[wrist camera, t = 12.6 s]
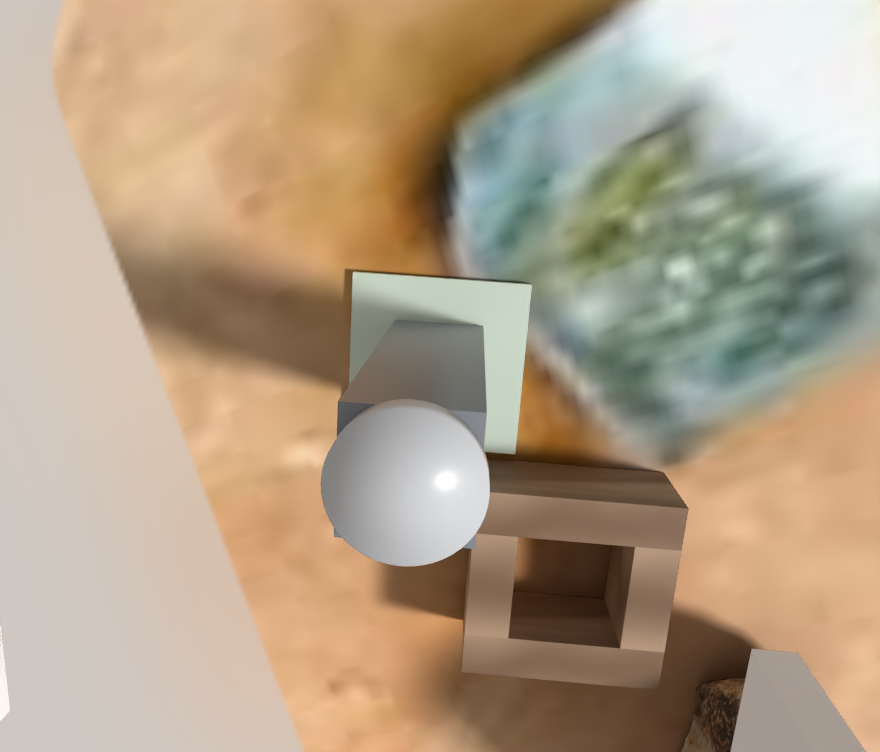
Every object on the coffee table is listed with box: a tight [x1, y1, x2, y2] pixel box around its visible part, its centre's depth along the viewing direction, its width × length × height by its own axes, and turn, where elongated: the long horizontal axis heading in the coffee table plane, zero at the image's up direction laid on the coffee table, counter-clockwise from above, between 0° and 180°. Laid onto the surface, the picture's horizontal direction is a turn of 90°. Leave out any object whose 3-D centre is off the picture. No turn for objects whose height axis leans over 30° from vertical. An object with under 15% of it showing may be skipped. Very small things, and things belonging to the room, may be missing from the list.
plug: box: [321, 320, 490, 566], centre depth 28 cm, size 5×5×16 cm
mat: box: [349, 271, 532, 454], centre depth 36 cm, size 9×9×1 cm
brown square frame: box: [461, 458, 688, 690], centre depth 36 cm, size 10×10×4 cm
